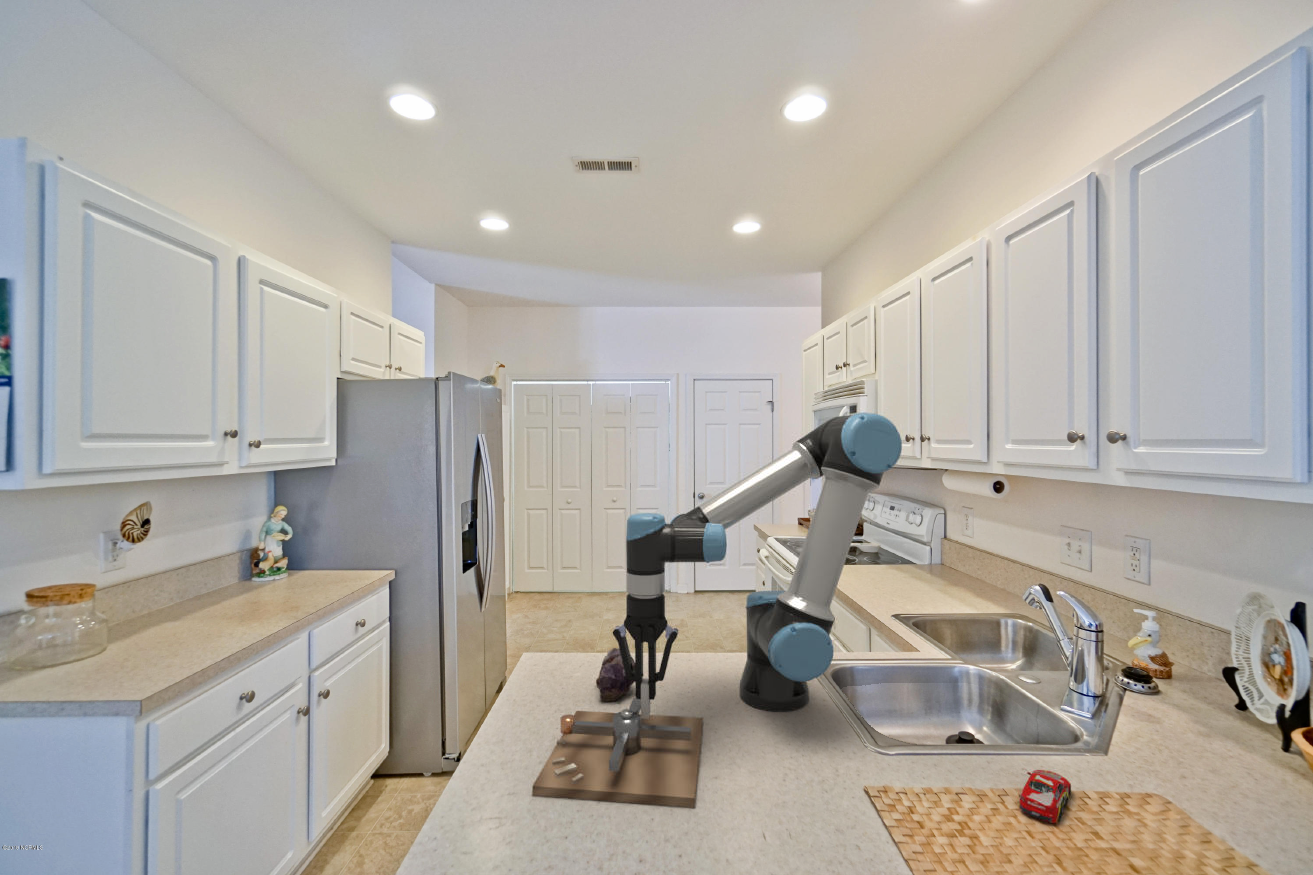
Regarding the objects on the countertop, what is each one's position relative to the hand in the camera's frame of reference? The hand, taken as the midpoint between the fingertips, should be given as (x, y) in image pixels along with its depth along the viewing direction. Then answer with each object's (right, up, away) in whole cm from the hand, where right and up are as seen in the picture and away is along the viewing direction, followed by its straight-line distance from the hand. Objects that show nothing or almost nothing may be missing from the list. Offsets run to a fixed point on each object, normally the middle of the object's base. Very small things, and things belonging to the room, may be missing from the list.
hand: (645, 714), depth 110 cm
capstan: (-3, -2, -8) cm, 9 cm away
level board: (-3, -3, -8) cm, 9 cm away
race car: (+63, -3, -22) cm, 67 cm away
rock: (-7, -4, +19) cm, 20 cm away
